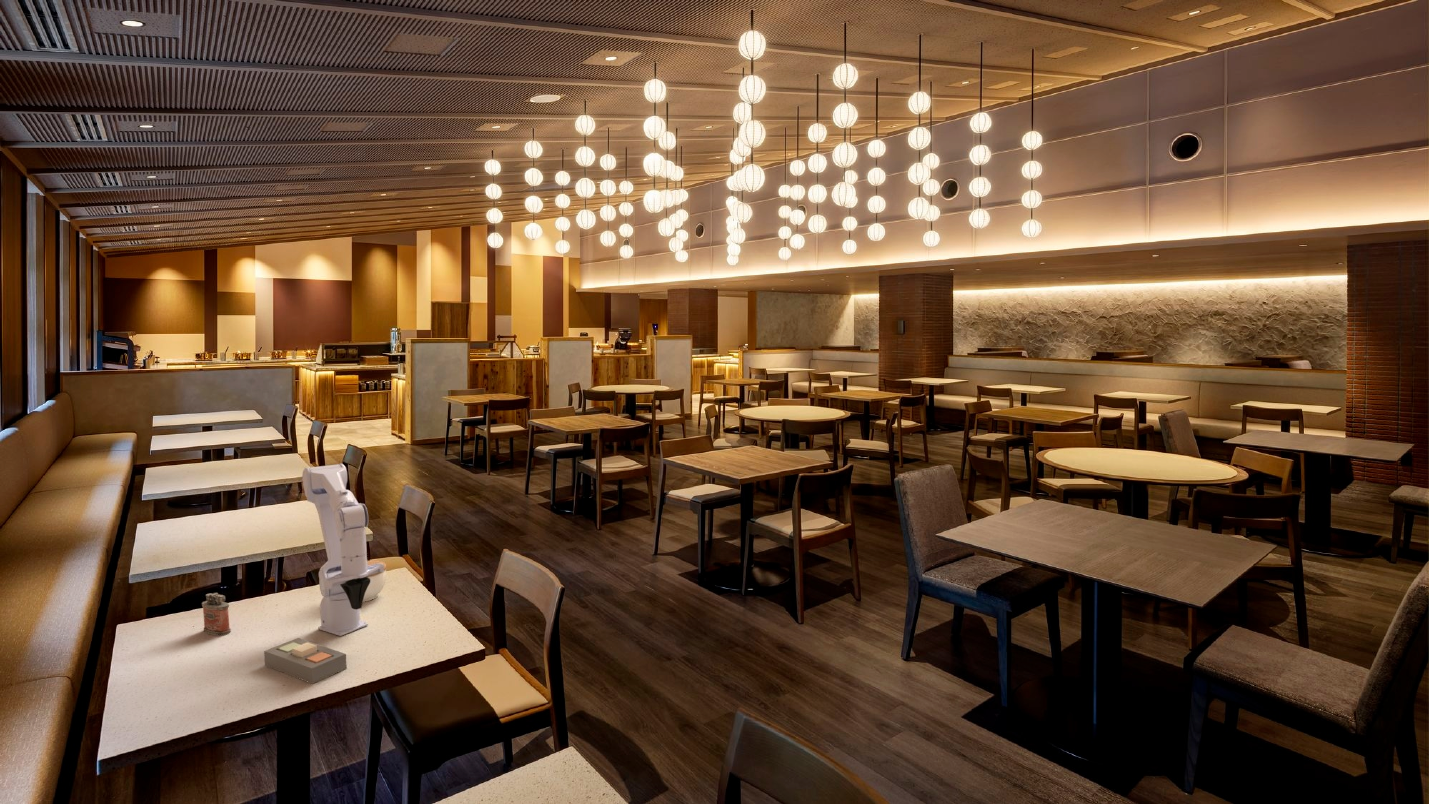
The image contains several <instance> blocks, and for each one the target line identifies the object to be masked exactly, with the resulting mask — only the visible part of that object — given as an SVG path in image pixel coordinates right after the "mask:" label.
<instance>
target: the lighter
mask: <svg viewBox="0 0 1429 804" xmlns="http://www.w3.org/2000/svg"><path fill="white" fill-rule="evenodd" d="M205 598H206V600H205V601H202V602H201V606H202V609H203V611H202V612H203V625H204V627H203V632H204V633H206V634H210V635H213V636H220V637H222V636H226V635H229V634H231V628H230V619H229V618H230V617H229V608H230V604H229V603H228V602H225V601H226V596H225V595H223V594H219V593H218V592H213V593H207V594H205Z"/></svg>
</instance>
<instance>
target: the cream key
mask: <svg viewBox="0 0 1429 804" xmlns="http://www.w3.org/2000/svg"><path fill="white" fill-rule="evenodd" d="M316 652H317V645H314V644H311V643H308V642H307V643H305V644H302V645H299V646H297V647H294V648H292V655H293V656H296V657H299V658H303V657H306V656H308V655H311V654H313V653H316Z"/></svg>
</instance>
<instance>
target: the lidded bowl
mask: <svg viewBox="0 0 1429 804" xmlns="http://www.w3.org/2000/svg"><path fill="white" fill-rule="evenodd" d="M378 563H380V564H384V572H381V573H379V572H378V573H375V574H372V575H368V576H367V578H370V584H369V585H368V587H367V589H366V592H365V595H364V598H363V602H362V603H365V601H366V602H369V601H371V600H372V599H373V600H375V599H376V598H377V597H378V595H379V594H380V593H381V592H382V590H383V588H384V587H385V584H386V580H387V579H386V577H387V575H386V574H387V564H386V562H383V561H380V560H367V566H369V565H374V564H378ZM373 600H372V601H373Z"/></svg>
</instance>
